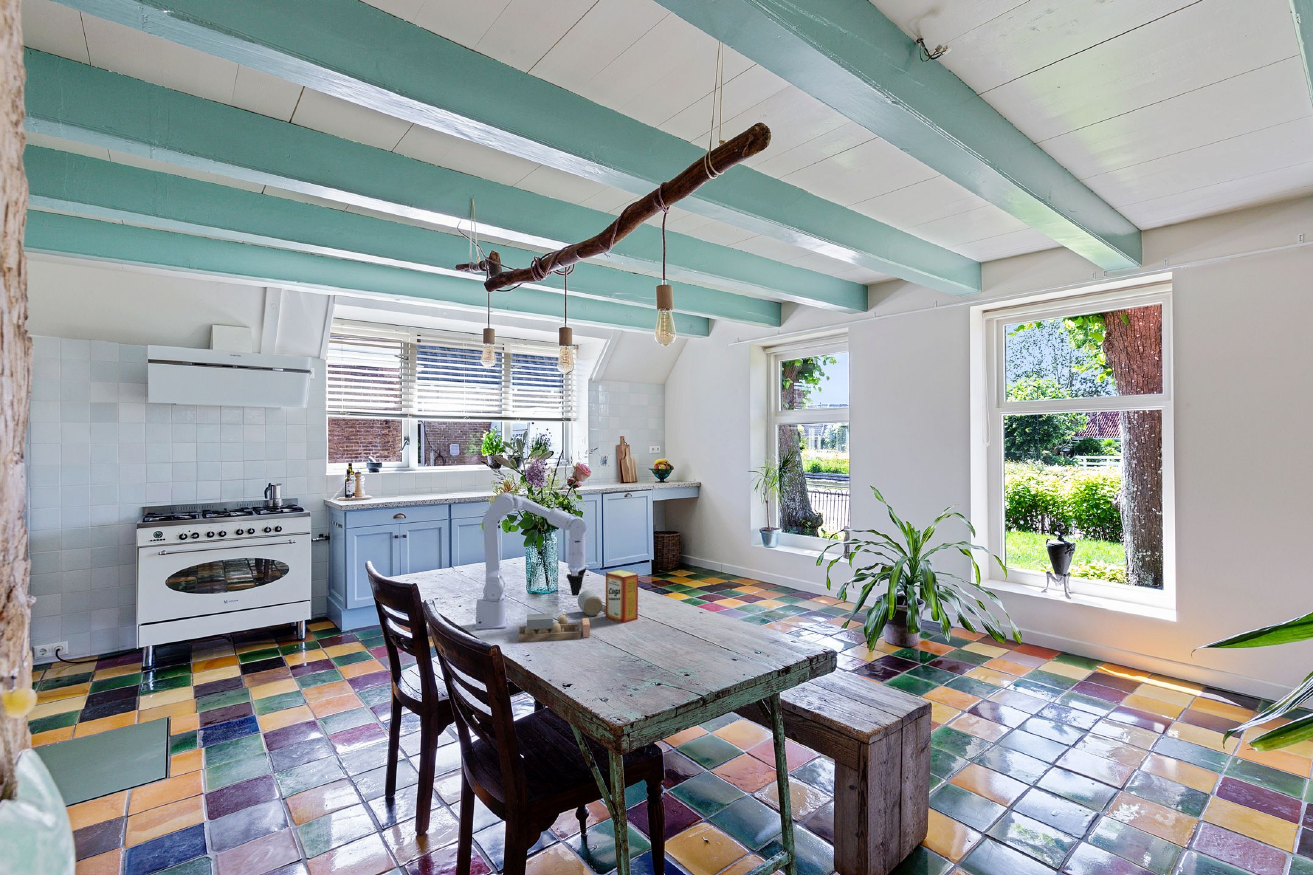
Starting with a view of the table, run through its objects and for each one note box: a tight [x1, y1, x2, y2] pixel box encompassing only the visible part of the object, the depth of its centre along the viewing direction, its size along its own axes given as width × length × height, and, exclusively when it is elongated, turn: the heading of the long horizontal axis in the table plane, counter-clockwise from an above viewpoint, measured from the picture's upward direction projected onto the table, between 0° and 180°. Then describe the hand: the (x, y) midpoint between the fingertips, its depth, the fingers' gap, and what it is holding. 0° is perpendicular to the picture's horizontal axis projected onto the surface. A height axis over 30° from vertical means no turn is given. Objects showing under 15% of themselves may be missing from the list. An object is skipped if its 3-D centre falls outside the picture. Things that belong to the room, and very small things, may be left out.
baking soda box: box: [605, 569, 639, 624], centre depth 220 cm, size 10×6×16 cm
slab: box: [526, 612, 554, 630], centre depth 200 cm, size 8×6×3 cm
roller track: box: [517, 622, 581, 643], centre depth 200 cm, size 19×9×3 cm, turn 101°
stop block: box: [581, 617, 591, 638], centre depth 202 cm, size 2×7×4 cm, turn 10°
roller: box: [557, 614, 568, 624], centre depth 211 cm, size 6×3×3 cm, turn 11°
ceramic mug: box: [577, 589, 606, 617], centre depth 226 cm, size 11×8×8 cm
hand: (576, 592), depth 215 cm, fingers open, 7 cm apart
